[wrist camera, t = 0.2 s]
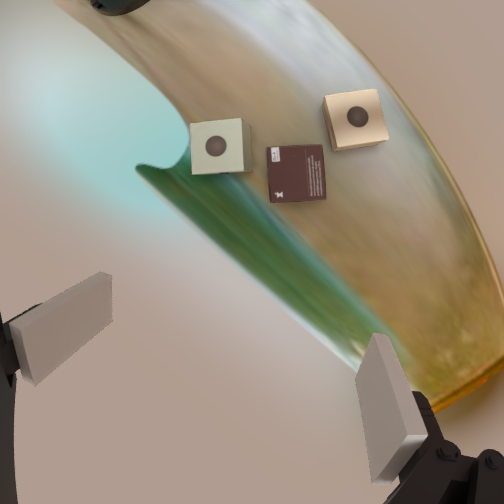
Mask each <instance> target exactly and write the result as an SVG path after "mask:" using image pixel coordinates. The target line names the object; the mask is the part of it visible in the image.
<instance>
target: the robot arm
mask: <svg viewBox="0 0 504 504" xmlns="http://www.w3.org/2000/svg"><path fill="white" fill-rule="evenodd" d="M147 1H149V0H89V2H90V4H91V5H92V7H93V8H95V9H96V10H97V11H99V12H101V13H102V14H105V15H110V16H114V15H121V14H124V13H127V12H130V11H132V10H134V9H136V8H138V7H140V6H142V5H143V4H145V3H146V2H147ZM112 321H113V320H112V275H110V274H106V273H103V272H99V273H97V274H95V275H93V276H91V277H89V278H87V279H86V280H84V281H82V282H80V283H78V284H76V285H75V286H73V287H71V288H69V289H67V290H65V291H64V292H62V293H60V294H59V295H57V296H55V297H53V298H51V299H50V300H48V301H46V302H44V303H41V304H38V305H35V306H33V307H31V308H29V309H28V310H26V311H24V312H23V313H22V314H19V315H17V316H16V317H14V318H12V319H11V320H9V321H7V322H5V323H4V324H3V323H2V318H1V313H0V504H18V501H17V492H16V481H15V468H14V407H15V392H16V380H17V378H16V373H15V372H16V371H17V370H18V369H20V370H21V374H22V377H23V379H24V380H25V381H27V382H28V383H30V384H31V385H33V386H36V385H38V384H39V383H40V382H41V381H42V380H43V379H44V378H46V377H47V376H48V375H49V374H50V373H52V372H53V371H54V370H55V369H56V368H57V367H59V366H60V365H61V364H62V363H63V362H64V361H66V360H67V359H68V358H69V357H70V356H72V355H73V354H74V353H75V352H76V351H77V350H79V349H80V348H81V347H82V346H83V345H85V344H86V343H87V342H88V341H89V340H91V339H92V338H93V337H94V336H95V335H97V334H98V333H99V332H100V331H101V330H103V329H104V328H105V327H106V326H107V325H109V324H110V323H111V322H112ZM355 381H356V387H357V392H358V397H359V403H360V409H361V414H362V420H363V426H364V433H365V439H366V446H367V453H368V460H369V468H370V475H371V484H391V483H392V482H393V481H394V480H395V478H396V477H397V476H398V475H399V480H400V484H399V485H398V486H397V487H396V489H395V490H394V491H393V492H392V493H391V494H390V495H389V496H388V498H387V500H386V501H385V502H384V503H383V504H504V457H503V455H501V453H499V452H498V451H496V450H493V449H487V450H484V451H483V452H482V453H481V454H480V455H479V456H478V457H477V458H473V457H469V456H464V455H461V452H460V449H459V448H458V447H457V446H456V445H455V444H454V443H452V442H450V441H447V440H444V437H443V435H442V432H441V430H440V428H439V425H438V423H437V420H436V418H435V417H434V413H433V411H432V410H431V406H430V404H429V402H428V399H427V398H426V397H425V396H424V395H423V394H422V393H421V392H418V391H411V389H410V386H409V384H408V381H407V379H406V376H405V374H404V372H403V369H402V367H401V365H400V362H399V360H398V358H397V355H396V353H395V351H394V349H393V346H392V344H391V342H390V340H389V337H388V335H385V334H378V333H373V334H372V336H371V339H370V342H369V345H368V347H367V350H366V353H365V355H364V358H363V360H362V363H361V365H360V368H359V370H358V373H357V375H356V378H355Z"/></svg>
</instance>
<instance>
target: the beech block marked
mask: <svg viewBox="0 0 504 504" xmlns="http://www.w3.org/2000/svg"><path fill="white" fill-rule="evenodd" d="M322 109H323V113H324V117H325V121H326V125H327V129H328V133H329V137H330V142H331V146H332V150H333V152H334V151H340V150H346V149H352V148H358V147H365V146H371V145H378V144H380V143H382V142H385V141H387V140H389V136H388V132H387V128H386V124H385V120H384V116H383V112H382V108H381V104H380V101H379V97H378V94H377V90H376V89H368V90H360V91H352V92H345V93H338V94H331V95H325V97H324V101H323V105H322Z"/></svg>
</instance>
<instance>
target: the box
mask: <svg viewBox="0 0 504 504" xmlns="http://www.w3.org/2000/svg"><path fill="white" fill-rule="evenodd" d="M266 157H267V168H268V181H269V195H270V202H271V203H280V202H298V201H314V200H326V182H325V168H324V157H323V148H322V145H321V144H319V145H296V146H280V147H267V148H266Z"/></svg>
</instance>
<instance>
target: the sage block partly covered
mask: <svg viewBox="0 0 504 504" xmlns="http://www.w3.org/2000/svg"><path fill="white" fill-rule="evenodd" d="M190 139H191V161H192V174H229V173H236V172H252V152H251V131H250V125H248V124H247V123H246V122H245V121H244V120H243V119H242V118H236V119H225V120H216V121H207V122H199V123H191V124H190Z"/></svg>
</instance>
